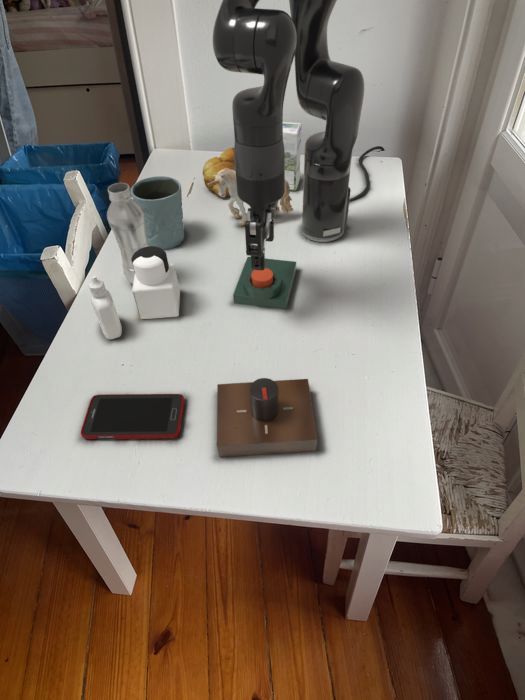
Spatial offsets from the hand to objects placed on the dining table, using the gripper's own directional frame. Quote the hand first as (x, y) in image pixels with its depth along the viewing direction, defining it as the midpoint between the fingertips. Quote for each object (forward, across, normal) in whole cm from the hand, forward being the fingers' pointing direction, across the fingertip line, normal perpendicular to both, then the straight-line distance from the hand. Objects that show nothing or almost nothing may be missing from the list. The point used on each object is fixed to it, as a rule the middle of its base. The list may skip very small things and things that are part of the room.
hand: (263, 253), depth 85 cm
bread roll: (+10, +40, +18) cm, 45 cm away
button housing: (+10, +3, 0) cm, 10 cm away
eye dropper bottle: (+10, -13, +26) cm, 31 cm away
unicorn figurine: (+10, +23, +7) cm, 26 cm away
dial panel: (+10, -28, -6) cm, 30 cm away
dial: (+7, -28, -6) cm, 30 cm away
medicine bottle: (+10, -6, +19) cm, 22 cm away
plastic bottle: (+10, +1, +25) cm, 27 cm away
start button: (+6, 0, 0) cm, 6 cm away
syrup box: (+10, +43, +3) cm, 44 cm away
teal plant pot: (+10, +16, +26) cm, 32 cm away
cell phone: (+10, -31, +14) cm, 36 cm away
